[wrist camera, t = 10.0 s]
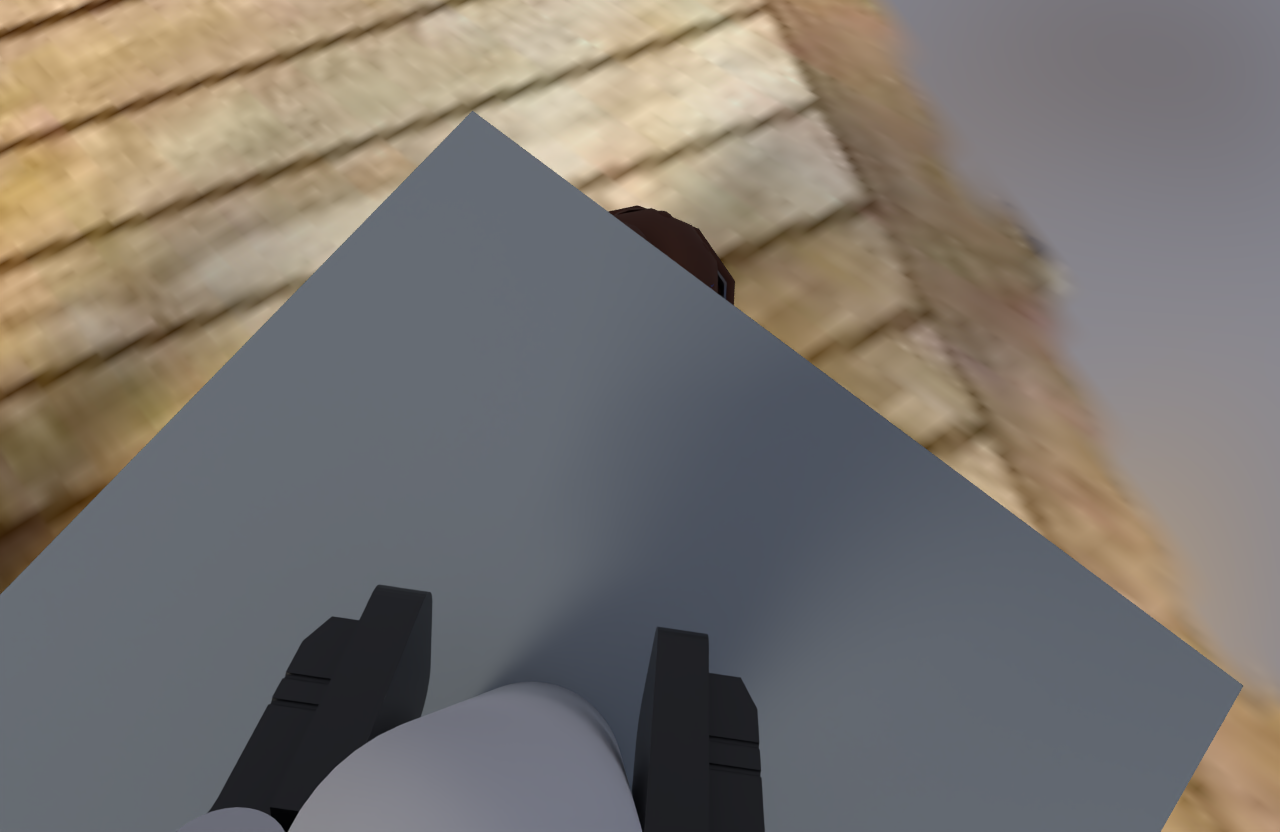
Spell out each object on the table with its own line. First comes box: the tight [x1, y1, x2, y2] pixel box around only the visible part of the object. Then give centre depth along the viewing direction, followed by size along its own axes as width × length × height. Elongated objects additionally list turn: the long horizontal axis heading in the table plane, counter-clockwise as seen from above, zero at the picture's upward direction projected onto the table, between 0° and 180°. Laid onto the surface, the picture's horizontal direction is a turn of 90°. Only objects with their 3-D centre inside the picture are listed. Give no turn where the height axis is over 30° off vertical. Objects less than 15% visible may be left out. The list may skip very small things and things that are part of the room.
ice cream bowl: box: [609, 206, 735, 305], centre depth 48 cm, size 11×11×15 cm
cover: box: [0, 111, 1243, 832], centre depth 20 cm, size 18×18×25 cm
